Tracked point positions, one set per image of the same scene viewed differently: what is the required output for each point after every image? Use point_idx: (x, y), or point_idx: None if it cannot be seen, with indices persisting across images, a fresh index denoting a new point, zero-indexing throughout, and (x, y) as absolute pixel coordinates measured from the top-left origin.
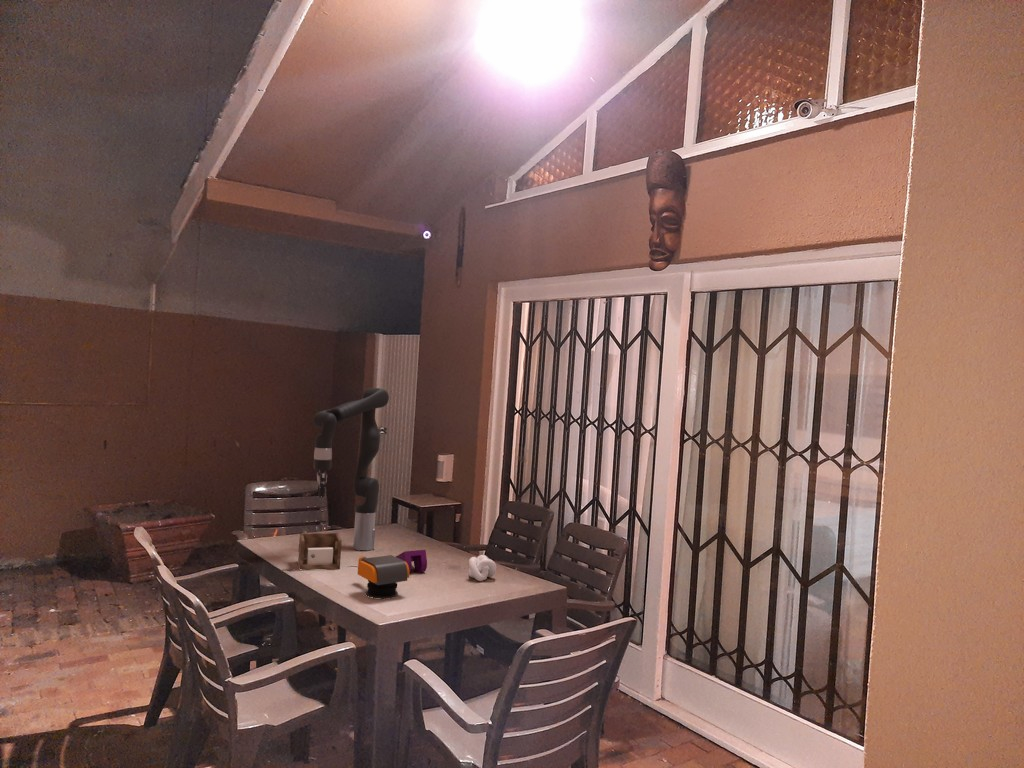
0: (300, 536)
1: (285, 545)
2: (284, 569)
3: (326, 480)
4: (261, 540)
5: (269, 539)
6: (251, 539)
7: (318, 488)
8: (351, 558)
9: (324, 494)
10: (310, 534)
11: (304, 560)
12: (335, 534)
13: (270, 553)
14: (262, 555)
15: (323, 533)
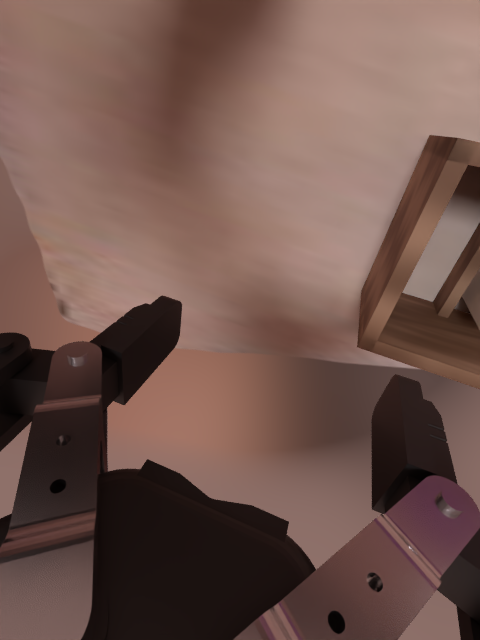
0: (423, 368)
1: (142, 253)
2: None
3: (416, 608)
4: (83, 294)
5: (72, 271)
6: (74, 312)
7: (149, 369)
8: (433, 33)
9: (422, 397)
10: (392, 308)
11: (451, 309)
12: (465, 165)
13: (229, 325)
14: (245, 351)
15: (425, 244)
